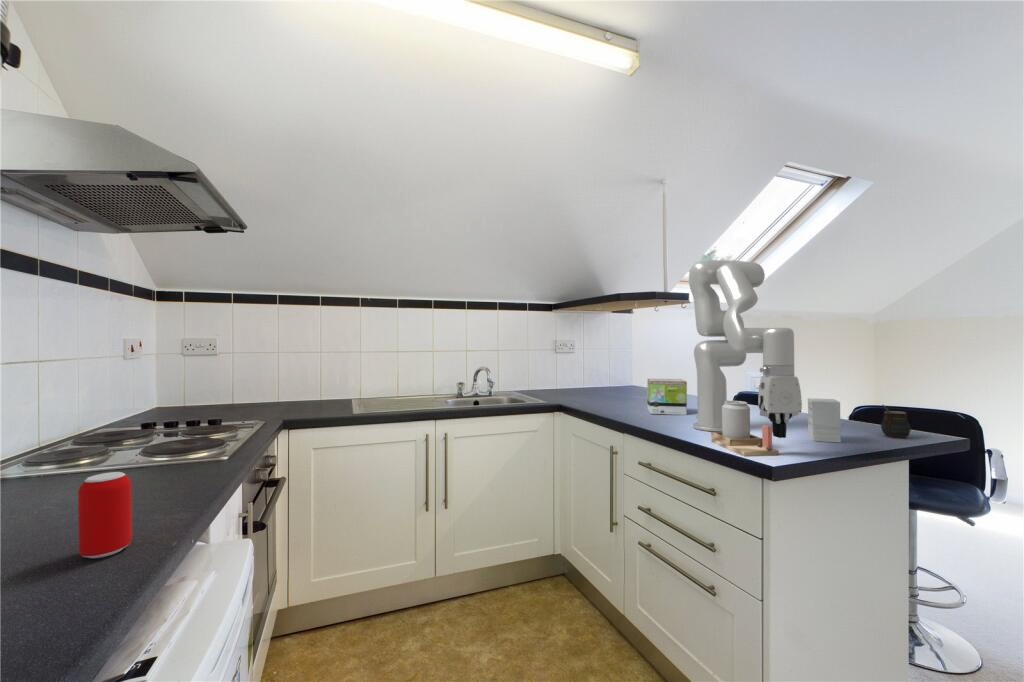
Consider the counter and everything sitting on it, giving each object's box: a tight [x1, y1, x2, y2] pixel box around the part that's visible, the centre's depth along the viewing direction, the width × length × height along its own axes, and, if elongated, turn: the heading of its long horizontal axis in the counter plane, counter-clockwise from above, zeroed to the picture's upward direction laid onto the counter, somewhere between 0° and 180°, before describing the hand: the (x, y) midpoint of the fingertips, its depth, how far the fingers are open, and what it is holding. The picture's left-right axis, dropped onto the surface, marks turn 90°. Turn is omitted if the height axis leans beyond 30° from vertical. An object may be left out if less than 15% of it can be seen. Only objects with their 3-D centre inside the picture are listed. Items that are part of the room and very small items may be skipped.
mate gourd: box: [880, 404, 912, 439], centre depth 141 cm, size 7×8×10 cm
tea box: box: [646, 378, 688, 416], centre depth 191 cm, size 15×10×15 cm, turn 81°
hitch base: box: [710, 431, 780, 457], centre depth 129 cm, size 17×10×3 cm, turn 4°
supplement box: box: [807, 397, 842, 444], centre depth 138 cm, size 7×7×13 cm
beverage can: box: [77, 471, 133, 559], centre depth 69 cm, size 6×6×12 cm
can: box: [721, 400, 751, 439], centre depth 132 cm, size 8×8×12 cm
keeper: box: [761, 424, 773, 448], centre depth 123 cm, size 2×6×1 cm
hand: (779, 436), depth 123 cm, fingers closed
